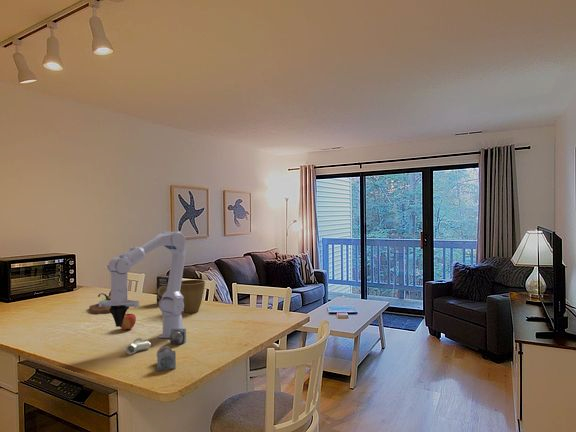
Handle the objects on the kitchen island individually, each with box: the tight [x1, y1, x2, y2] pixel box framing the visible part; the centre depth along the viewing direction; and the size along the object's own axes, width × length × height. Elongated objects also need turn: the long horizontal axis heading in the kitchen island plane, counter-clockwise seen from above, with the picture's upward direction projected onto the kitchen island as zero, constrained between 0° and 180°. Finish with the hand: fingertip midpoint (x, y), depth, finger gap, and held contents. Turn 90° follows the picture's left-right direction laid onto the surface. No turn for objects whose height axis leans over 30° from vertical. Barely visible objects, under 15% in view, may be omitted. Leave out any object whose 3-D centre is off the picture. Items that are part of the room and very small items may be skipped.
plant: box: [88, 290, 130, 315], centre depth 206 cm, size 20×20×11 cm
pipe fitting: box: [125, 337, 152, 356], centre depth 140 cm, size 8×4×7 cm
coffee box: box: [156, 275, 173, 305], centre depth 218 cm, size 9×6×16 cm
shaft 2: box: [168, 328, 187, 346], centre depth 148 cm, size 4×6×5 cm
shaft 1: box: [156, 346, 177, 372], centre depth 126 cm, size 8×6×5 cm
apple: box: [119, 313, 137, 331], centre depth 167 cm, size 7×7×8 cm
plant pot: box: [180, 279, 206, 314], centre depth 200 cm, size 15×15×16 cm
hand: (119, 326), depth 140 cm, fingers closed
